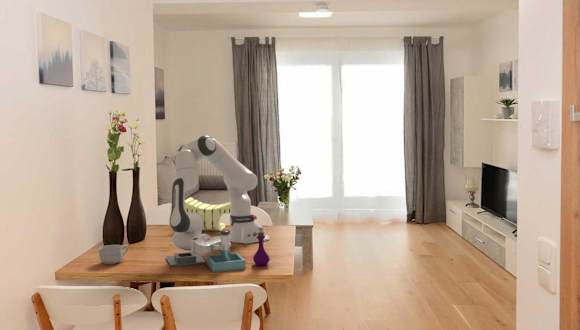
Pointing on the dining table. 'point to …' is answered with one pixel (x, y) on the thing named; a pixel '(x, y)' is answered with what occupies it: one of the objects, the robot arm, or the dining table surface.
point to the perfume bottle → (261, 251)
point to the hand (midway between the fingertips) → (226, 246)
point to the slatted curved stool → (208, 213)
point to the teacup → (112, 253)
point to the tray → (218, 266)
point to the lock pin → (225, 245)
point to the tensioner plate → (184, 259)
